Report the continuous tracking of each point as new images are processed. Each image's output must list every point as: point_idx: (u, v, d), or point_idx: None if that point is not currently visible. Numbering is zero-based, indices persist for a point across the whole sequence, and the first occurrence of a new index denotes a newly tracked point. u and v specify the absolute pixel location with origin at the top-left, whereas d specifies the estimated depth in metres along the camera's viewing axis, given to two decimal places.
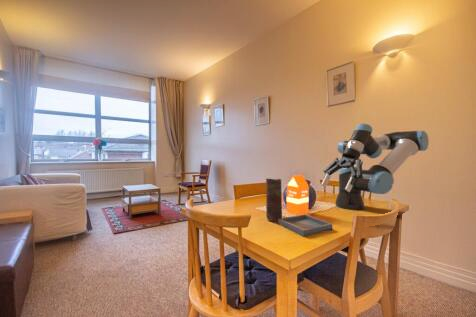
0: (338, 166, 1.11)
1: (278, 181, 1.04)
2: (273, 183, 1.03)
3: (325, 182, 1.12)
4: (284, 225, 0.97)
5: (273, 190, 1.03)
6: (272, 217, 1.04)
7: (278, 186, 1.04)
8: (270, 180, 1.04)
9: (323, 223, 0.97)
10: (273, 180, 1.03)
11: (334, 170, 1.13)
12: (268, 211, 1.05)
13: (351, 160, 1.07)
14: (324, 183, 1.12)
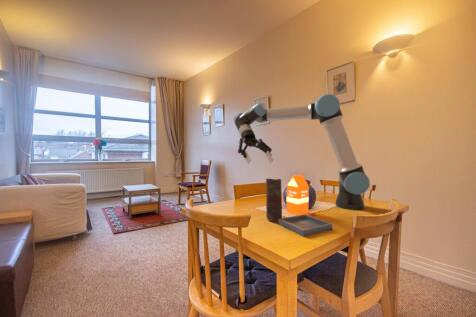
0: (257, 146, 1.25)
1: (278, 181, 1.04)
2: (273, 183, 1.03)
3: (269, 158, 1.21)
4: (284, 225, 0.97)
5: (273, 190, 1.03)
6: (272, 217, 1.04)
7: (278, 186, 1.04)
8: (270, 180, 1.04)
9: (323, 223, 0.97)
10: (273, 180, 1.03)
11: (262, 148, 1.24)
12: (268, 211, 1.05)
13: None
14: (269, 160, 1.20)
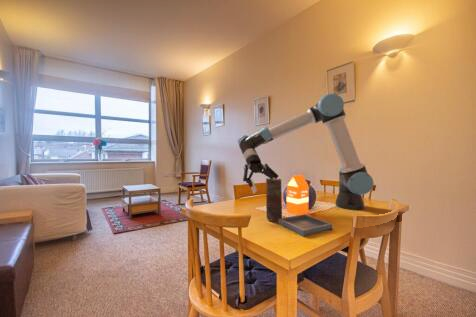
0: (263, 172, 1.19)
1: (278, 181, 1.04)
2: (273, 183, 1.03)
3: None
4: (284, 225, 0.97)
5: (273, 190, 1.03)
6: (272, 217, 1.04)
7: (278, 186, 1.04)
8: (270, 180, 1.04)
9: (323, 223, 0.97)
10: (273, 180, 1.03)
11: (268, 174, 1.18)
12: (268, 211, 1.05)
13: None
14: None
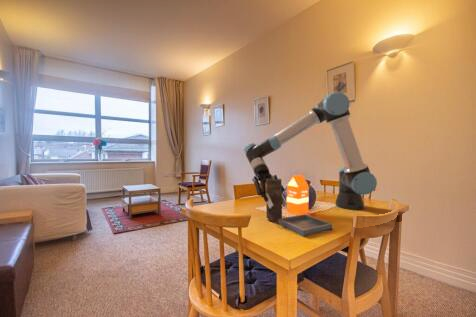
0: None
1: (278, 181, 1.04)
2: (273, 183, 1.03)
3: (282, 201, 1.07)
4: (284, 225, 0.97)
5: (273, 190, 1.04)
6: (272, 217, 1.04)
7: (279, 186, 1.04)
8: (270, 180, 1.04)
9: (323, 223, 0.97)
10: (273, 180, 1.03)
11: None
12: (268, 211, 1.05)
13: None
14: (283, 203, 1.07)
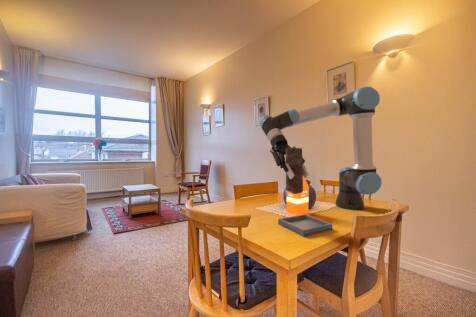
0: None
1: (299, 150, 0.96)
2: (294, 152, 0.96)
3: (303, 172, 0.99)
4: (284, 225, 0.97)
5: (294, 159, 0.96)
6: (293, 188, 0.96)
7: (300, 155, 0.96)
8: (290, 149, 0.96)
9: (323, 223, 0.97)
10: (294, 148, 0.96)
11: None
12: (288, 183, 0.97)
13: None
14: (304, 174, 0.99)
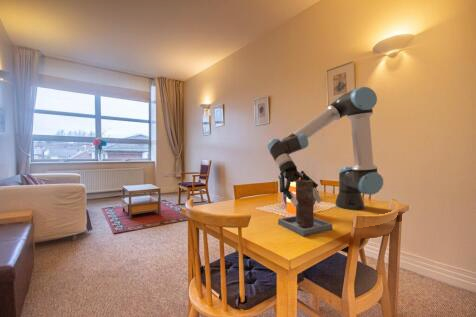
0: None
1: (310, 182, 0.94)
2: (304, 185, 0.94)
3: (316, 197, 0.99)
4: (284, 225, 0.97)
5: (304, 192, 0.94)
6: (304, 222, 0.94)
7: (310, 188, 0.94)
8: (301, 181, 0.94)
9: (323, 223, 0.97)
10: (304, 181, 0.94)
11: None
12: (299, 216, 0.96)
13: None
14: (317, 199, 0.99)
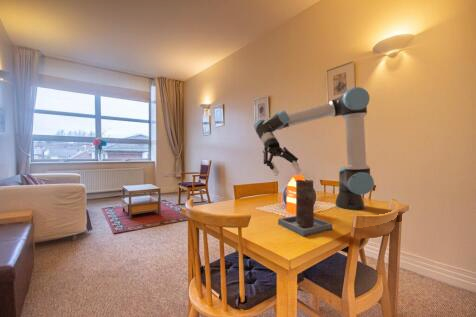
0: (282, 156, 1.17)
1: (310, 183, 0.94)
2: (305, 185, 0.94)
3: (296, 169, 1.12)
4: (284, 225, 0.97)
5: (305, 192, 0.94)
6: (304, 222, 0.94)
7: (311, 188, 0.94)
8: (302, 181, 0.94)
9: (323, 223, 0.97)
10: (305, 181, 0.94)
11: (287, 158, 1.16)
12: (299, 216, 0.96)
13: None
14: (297, 170, 1.12)
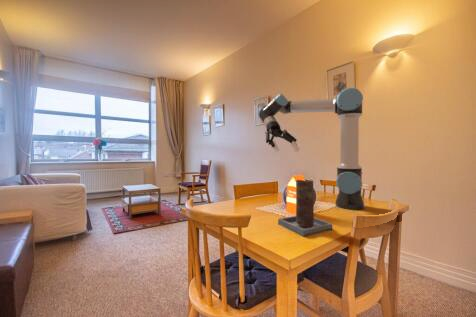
0: (282, 137, 1.31)
1: (310, 183, 0.94)
2: (305, 185, 0.94)
3: (295, 148, 1.26)
4: (284, 225, 0.97)
5: (305, 192, 0.94)
6: (304, 222, 0.94)
7: (311, 188, 0.94)
8: (302, 181, 0.94)
9: (323, 223, 0.97)
10: (305, 182, 0.94)
11: (287, 138, 1.30)
12: (299, 216, 0.96)
13: None
14: (295, 149, 1.26)
